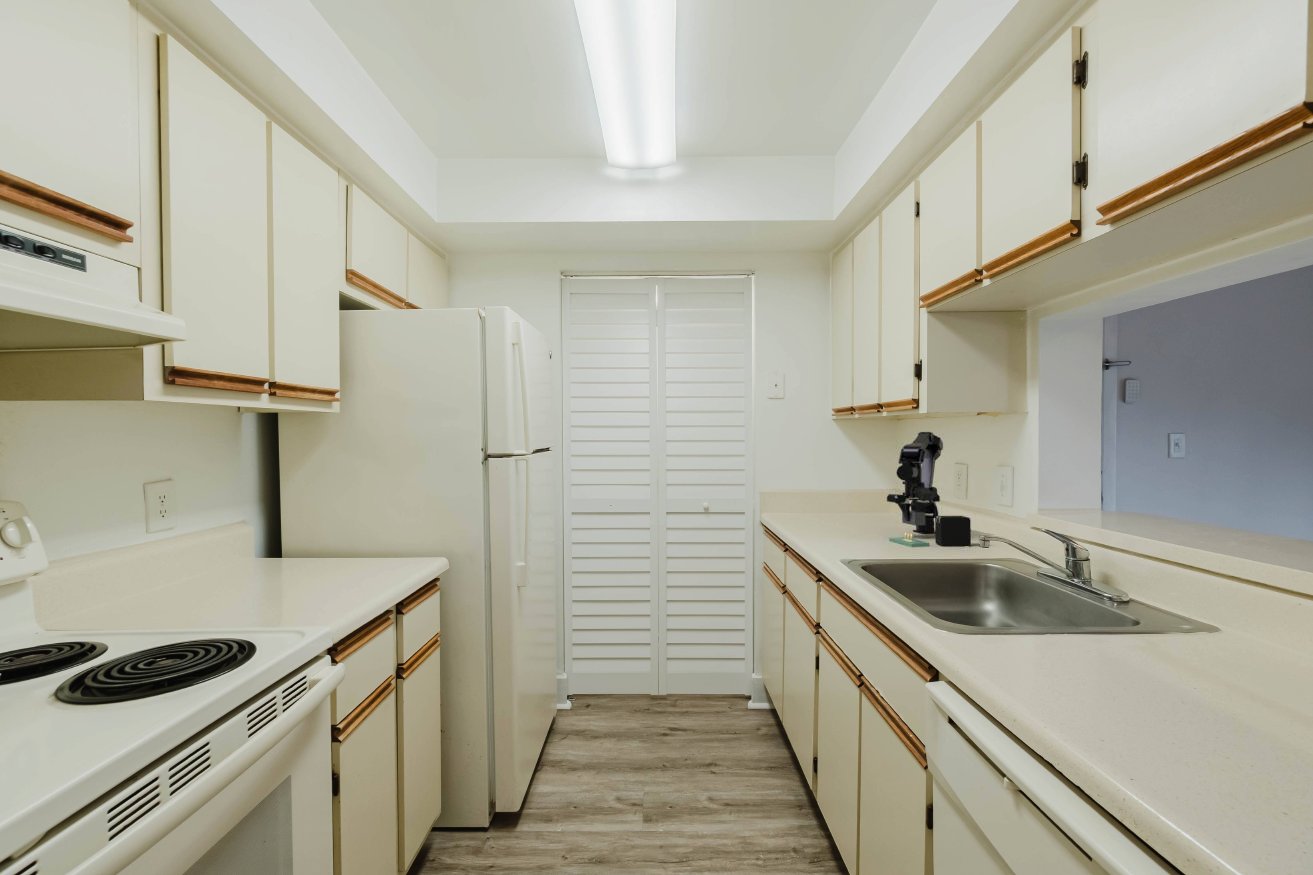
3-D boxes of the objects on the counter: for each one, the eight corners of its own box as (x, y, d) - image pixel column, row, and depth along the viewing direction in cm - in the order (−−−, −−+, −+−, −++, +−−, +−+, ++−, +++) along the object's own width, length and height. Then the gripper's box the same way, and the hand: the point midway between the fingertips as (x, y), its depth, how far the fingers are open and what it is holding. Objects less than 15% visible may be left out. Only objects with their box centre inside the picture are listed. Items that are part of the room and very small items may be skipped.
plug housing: (902, 522, 203) (902, 510, 203) (912, 522, 204) (912, 510, 204) (914, 525, 196) (914, 513, 196) (925, 524, 197) (925, 512, 197)
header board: (889, 540, 195) (889, 531, 195) (906, 539, 196) (906, 530, 196) (911, 546, 183) (911, 536, 183) (929, 545, 184) (929, 535, 185)
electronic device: (971, 546, 183) (970, 517, 183) (941, 546, 183) (941, 517, 183) (964, 544, 187) (963, 515, 187) (935, 544, 188) (934, 515, 188)
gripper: (905, 481, 191) (905, 525, 190) (950, 480, 195) (951, 523, 194) (885, 479, 201) (886, 520, 201) (929, 478, 205) (929, 518, 205)
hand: (913, 521), depth 200 cm, fingers closed on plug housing, 4 cm apart
